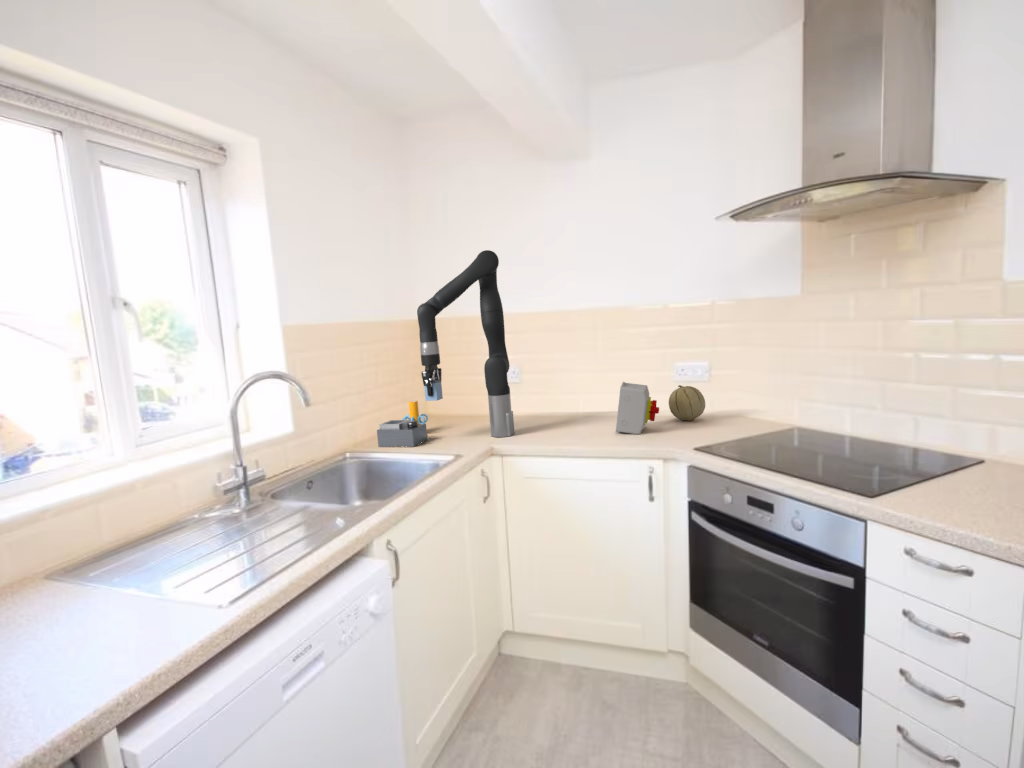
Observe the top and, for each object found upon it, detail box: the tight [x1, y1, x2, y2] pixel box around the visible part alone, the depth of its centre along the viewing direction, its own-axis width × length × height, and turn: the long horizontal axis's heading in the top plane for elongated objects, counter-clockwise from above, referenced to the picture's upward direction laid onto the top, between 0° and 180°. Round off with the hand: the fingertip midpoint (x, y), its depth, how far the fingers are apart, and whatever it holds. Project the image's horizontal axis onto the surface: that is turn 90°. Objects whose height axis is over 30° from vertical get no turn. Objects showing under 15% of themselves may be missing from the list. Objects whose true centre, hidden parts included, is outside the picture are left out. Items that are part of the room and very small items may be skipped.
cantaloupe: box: [668, 385, 706, 422], centre depth 217 cm, size 15×15×15 cm
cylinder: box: [401, 400, 429, 424], centre depth 228 cm, size 12×10×15 cm
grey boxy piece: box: [376, 419, 428, 448], centre depth 211 cm, size 16×12×9 cm
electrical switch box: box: [615, 381, 660, 435], centre depth 203 cm, size 15×15×20 cm
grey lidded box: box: [423, 378, 444, 402], centre depth 209 cm, size 5×5×8 cm
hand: (433, 394), depth 209 cm, fingers closed on grey lidded box, 5 cm apart
